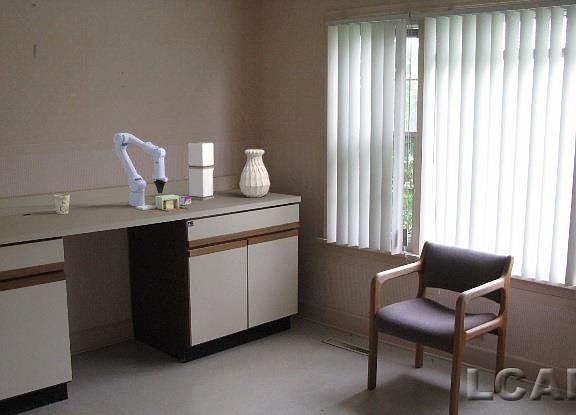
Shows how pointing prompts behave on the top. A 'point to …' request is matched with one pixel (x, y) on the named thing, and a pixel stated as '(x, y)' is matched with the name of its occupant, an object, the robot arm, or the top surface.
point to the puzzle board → (163, 210)
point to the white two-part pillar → (201, 170)
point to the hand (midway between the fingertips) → (160, 193)
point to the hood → (166, 197)
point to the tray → (145, 207)
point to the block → (168, 204)
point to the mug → (62, 203)
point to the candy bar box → (184, 200)
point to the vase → (254, 175)
